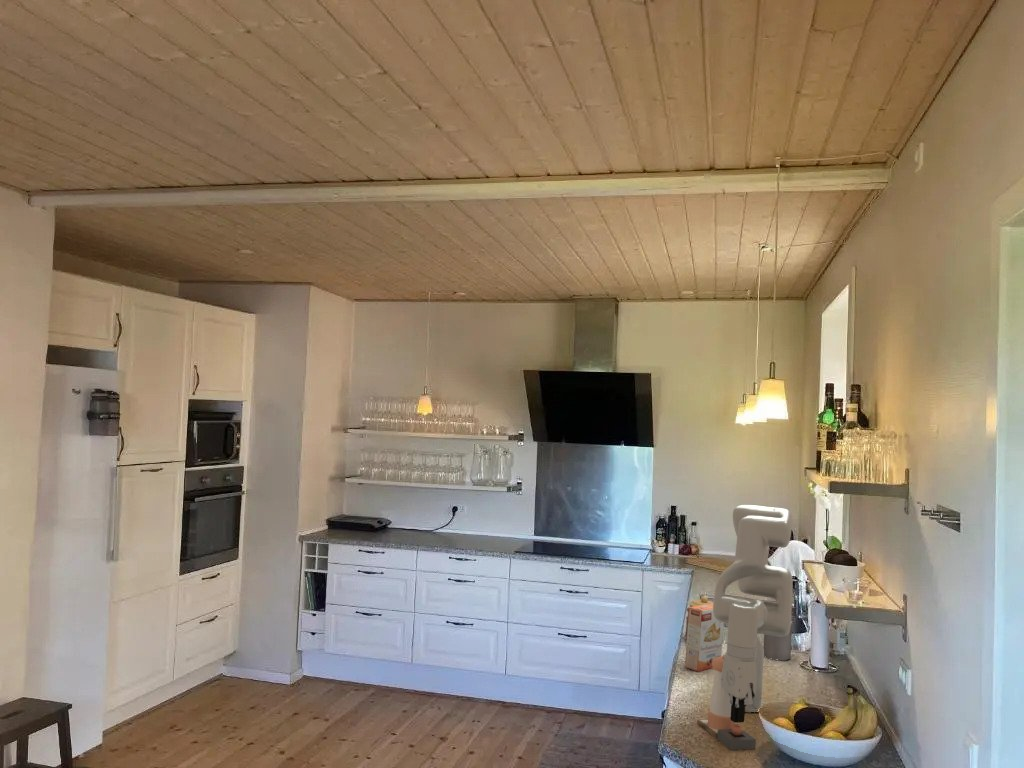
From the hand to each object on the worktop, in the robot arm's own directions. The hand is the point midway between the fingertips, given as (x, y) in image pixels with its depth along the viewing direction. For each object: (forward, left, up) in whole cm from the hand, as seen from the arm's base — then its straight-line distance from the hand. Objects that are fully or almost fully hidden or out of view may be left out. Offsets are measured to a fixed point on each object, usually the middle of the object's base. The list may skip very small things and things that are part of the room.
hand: (737, 721), depth 203 cm
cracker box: (-60, +25, -6) cm, 65 cm away
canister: (-88, +41, -6) cm, 97 cm away
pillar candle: (-68, +61, -6) cm, 92 cm away
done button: (0, 0, -3) cm, 3 cm away
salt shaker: (-9, +1, -5) cm, 11 cm away
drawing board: (-9, +1, -6) cm, 11 cm away
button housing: (0, 0, -6) cm, 6 cm away
